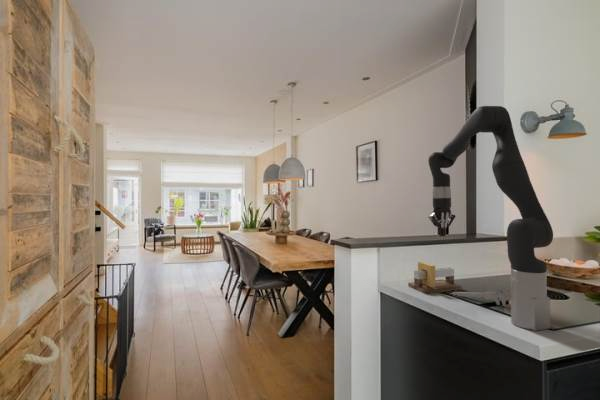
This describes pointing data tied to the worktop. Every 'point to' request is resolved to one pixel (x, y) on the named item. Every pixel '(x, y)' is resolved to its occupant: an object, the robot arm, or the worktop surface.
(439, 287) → the pipe board
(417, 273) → the pipe
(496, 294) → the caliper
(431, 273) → the tan flat square slab
